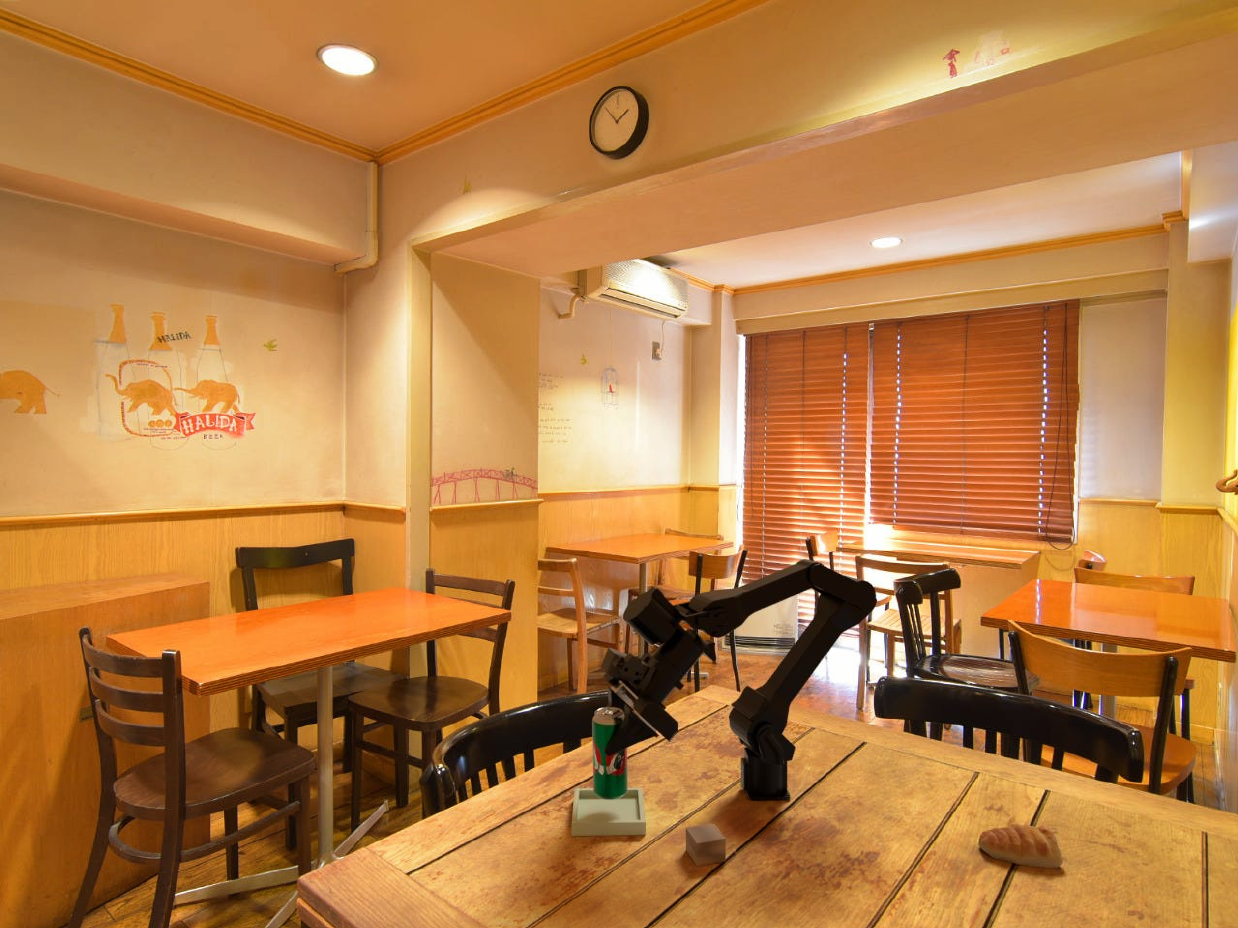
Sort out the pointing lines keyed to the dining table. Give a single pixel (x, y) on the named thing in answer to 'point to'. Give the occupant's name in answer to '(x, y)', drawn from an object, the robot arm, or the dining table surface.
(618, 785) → the soda can
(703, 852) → the small brown cube
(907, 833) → the dining table surface
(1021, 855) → the pastry
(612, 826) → the tray
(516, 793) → the dining table surface
